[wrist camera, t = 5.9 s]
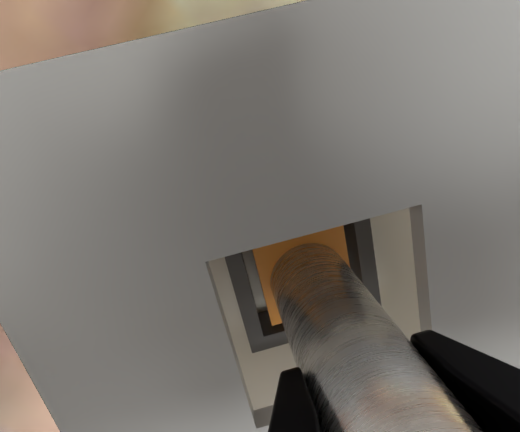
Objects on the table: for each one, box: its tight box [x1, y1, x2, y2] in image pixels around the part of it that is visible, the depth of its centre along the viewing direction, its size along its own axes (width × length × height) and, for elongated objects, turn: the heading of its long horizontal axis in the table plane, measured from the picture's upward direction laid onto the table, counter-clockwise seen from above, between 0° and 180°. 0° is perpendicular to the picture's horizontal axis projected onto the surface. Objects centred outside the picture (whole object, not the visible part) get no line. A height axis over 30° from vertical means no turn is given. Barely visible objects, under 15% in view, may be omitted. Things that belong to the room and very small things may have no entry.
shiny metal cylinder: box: [270, 243, 484, 432], centre depth 7 cm, size 2×2×10 cm
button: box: [252, 225, 350, 326], centre depth 12 cm, size 3×3×1 cm
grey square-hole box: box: [0, 0, 520, 432], centre depth 11 cm, size 14×14×5 cm
